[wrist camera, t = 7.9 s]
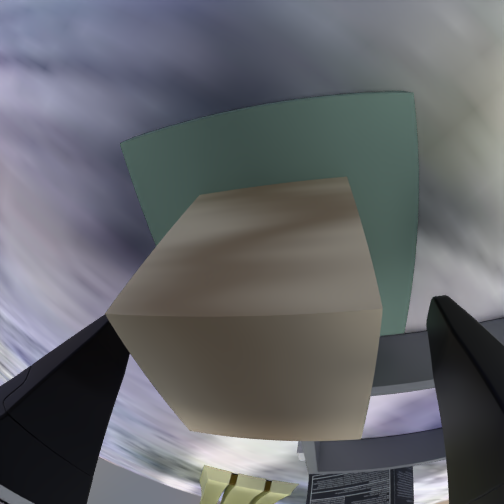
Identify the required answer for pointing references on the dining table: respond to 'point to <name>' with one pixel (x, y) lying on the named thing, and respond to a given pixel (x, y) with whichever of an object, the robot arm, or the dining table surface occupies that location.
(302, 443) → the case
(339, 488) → the small box
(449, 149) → the dining table surface
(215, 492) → the slatted curved stool
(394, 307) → the mat
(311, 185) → the block
